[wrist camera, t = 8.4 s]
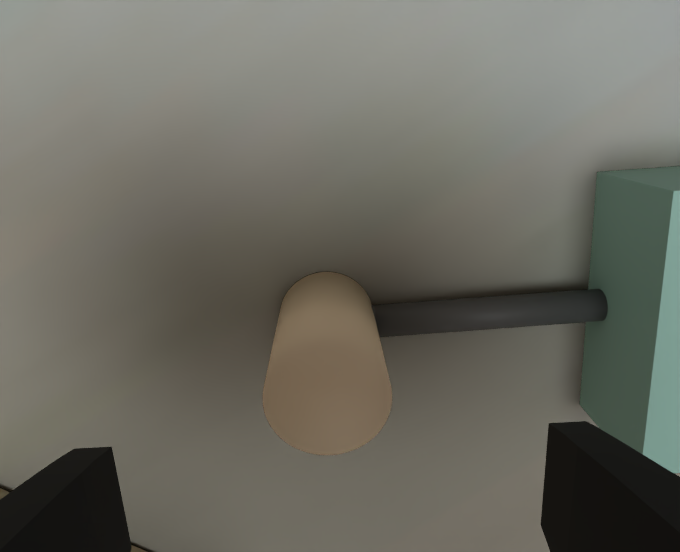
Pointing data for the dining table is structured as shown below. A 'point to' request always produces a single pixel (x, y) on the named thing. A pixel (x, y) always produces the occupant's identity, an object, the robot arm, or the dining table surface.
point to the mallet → (503, 312)
